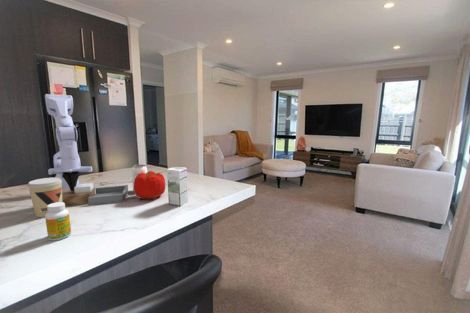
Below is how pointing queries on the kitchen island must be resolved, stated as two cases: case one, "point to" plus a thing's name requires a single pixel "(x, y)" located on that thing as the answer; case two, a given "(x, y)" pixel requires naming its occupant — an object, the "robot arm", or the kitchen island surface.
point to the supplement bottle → (57, 221)
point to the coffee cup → (45, 194)
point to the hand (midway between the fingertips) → (73, 190)
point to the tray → (109, 195)
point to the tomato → (149, 185)
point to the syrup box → (177, 185)
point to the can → (138, 171)
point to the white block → (84, 188)
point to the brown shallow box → (76, 197)
